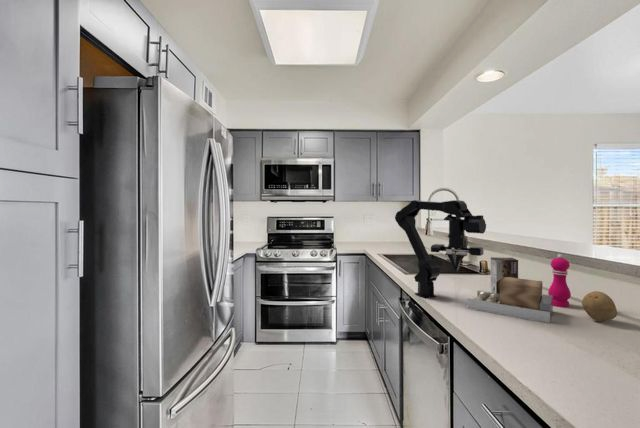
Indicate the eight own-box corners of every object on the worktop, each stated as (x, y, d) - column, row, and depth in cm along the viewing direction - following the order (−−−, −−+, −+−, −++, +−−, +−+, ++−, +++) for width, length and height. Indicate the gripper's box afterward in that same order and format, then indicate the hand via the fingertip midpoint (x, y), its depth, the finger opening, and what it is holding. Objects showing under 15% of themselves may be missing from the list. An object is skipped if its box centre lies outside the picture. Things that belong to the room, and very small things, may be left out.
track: (467, 308, 126) (467, 292, 126) (477, 299, 139) (478, 284, 139) (549, 323, 111) (550, 305, 110) (552, 311, 123) (553, 295, 123)
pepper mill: (550, 306, 130) (551, 254, 129) (545, 301, 136) (547, 252, 136) (573, 308, 127) (574, 255, 126) (567, 303, 134) (568, 253, 133)
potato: (579, 314, 119) (579, 287, 119) (611, 319, 115) (612, 290, 115) (583, 322, 111) (584, 292, 111) (618, 327, 107) (619, 296, 107)
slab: (499, 304, 121) (499, 282, 121) (505, 297, 131) (505, 276, 131) (539, 310, 114) (539, 287, 114) (542, 302, 124) (542, 281, 123)
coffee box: (511, 293, 148) (512, 257, 148) (518, 297, 141) (519, 259, 141) (489, 293, 149) (490, 256, 148) (495, 297, 142) (496, 259, 142)
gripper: (486, 232, 134) (486, 271, 134) (439, 230, 145) (439, 266, 145) (480, 233, 125) (479, 275, 125) (430, 231, 136) (430, 269, 136)
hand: (456, 271), depth 133 cm, fingers closed
